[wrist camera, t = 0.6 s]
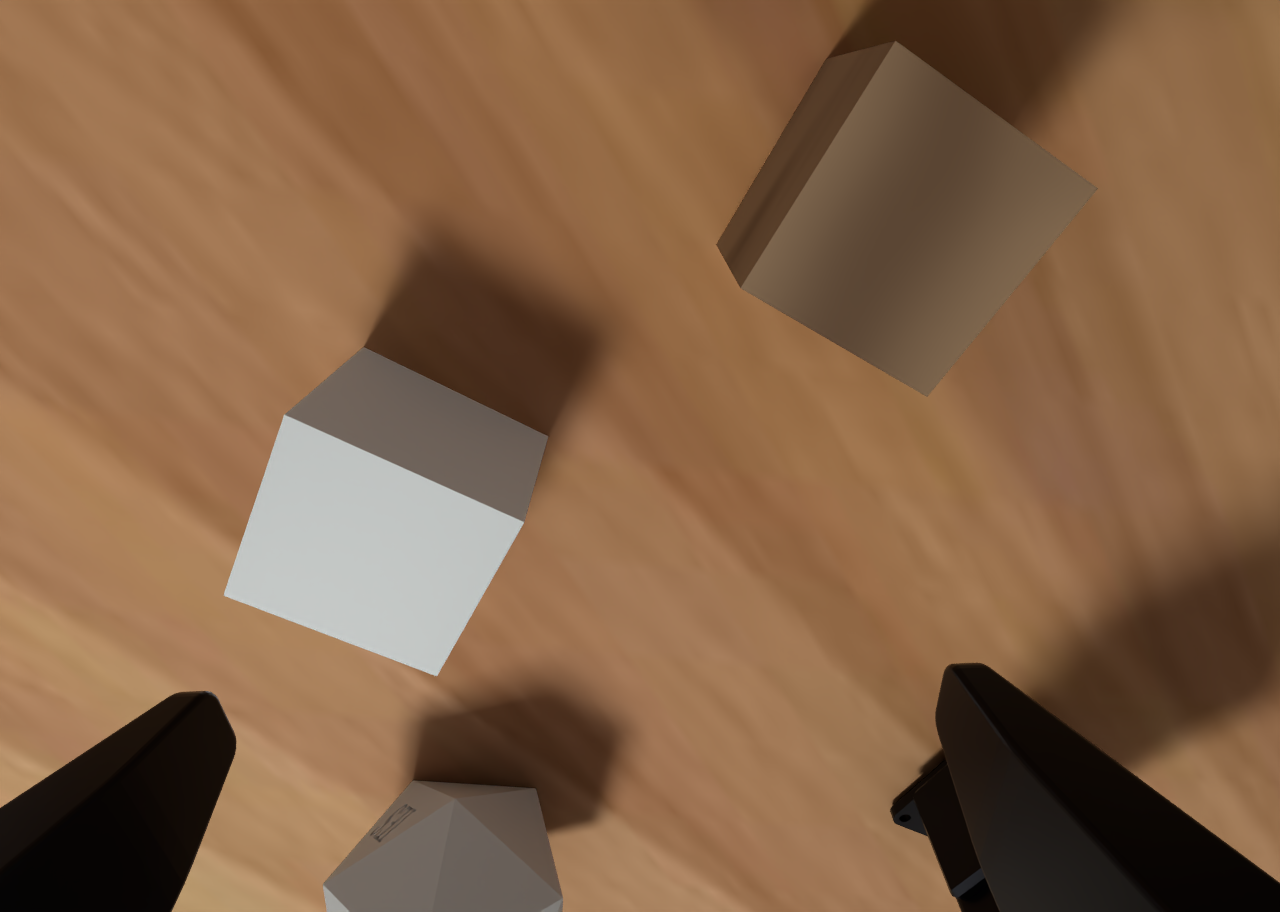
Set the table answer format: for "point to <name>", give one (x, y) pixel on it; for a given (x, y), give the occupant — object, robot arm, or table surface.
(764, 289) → the brown cube
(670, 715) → the table surface
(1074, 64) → the table surface
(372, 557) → the grey block
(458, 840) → the die
